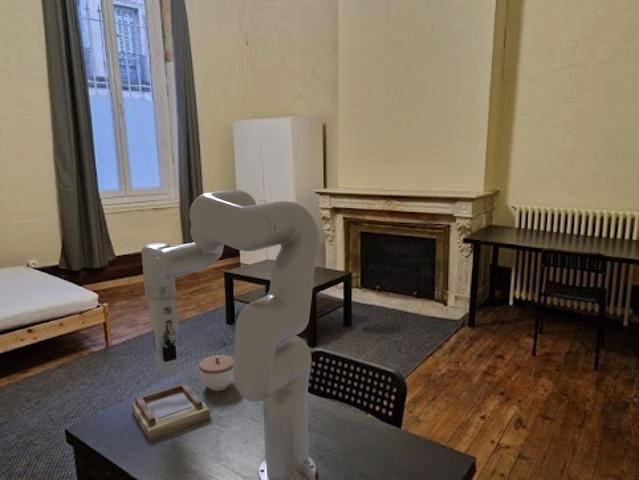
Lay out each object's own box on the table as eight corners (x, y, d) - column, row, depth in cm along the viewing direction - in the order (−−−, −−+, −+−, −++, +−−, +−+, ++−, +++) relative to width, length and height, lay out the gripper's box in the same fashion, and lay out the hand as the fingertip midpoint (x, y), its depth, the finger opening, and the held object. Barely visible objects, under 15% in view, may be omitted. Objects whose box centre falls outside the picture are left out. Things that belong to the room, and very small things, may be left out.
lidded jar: (218, 398, 132) (216, 368, 131) (193, 388, 138) (191, 359, 136) (243, 382, 141) (242, 354, 140) (218, 374, 147) (217, 347, 145)
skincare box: (155, 363, 124) (152, 321, 121) (172, 359, 126) (169, 318, 123) (159, 372, 118) (155, 328, 116) (177, 368, 120) (173, 325, 118)
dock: (210, 418, 123) (209, 404, 122) (149, 440, 113) (148, 425, 113) (188, 393, 135) (188, 381, 135) (132, 411, 126) (131, 398, 125)
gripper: (186, 296, 113) (191, 363, 117) (164, 281, 127) (169, 341, 131) (155, 302, 109) (161, 371, 112) (136, 286, 123) (142, 348, 126)
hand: (165, 355), depth 121 cm, fingers closed on skincare box, 6 cm apart
